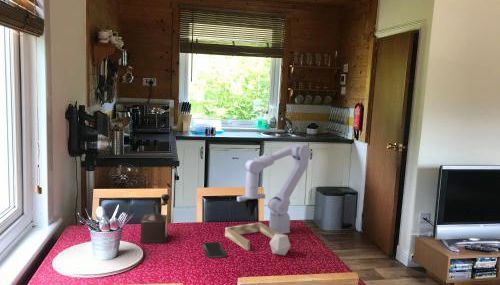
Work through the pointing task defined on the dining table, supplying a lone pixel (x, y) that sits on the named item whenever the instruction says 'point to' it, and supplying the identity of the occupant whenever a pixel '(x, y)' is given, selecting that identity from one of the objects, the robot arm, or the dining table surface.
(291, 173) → the robot arm
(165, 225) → the coffee grinder box
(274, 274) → the dining table surface
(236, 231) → the wooden frame
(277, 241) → the die
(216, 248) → the phone
